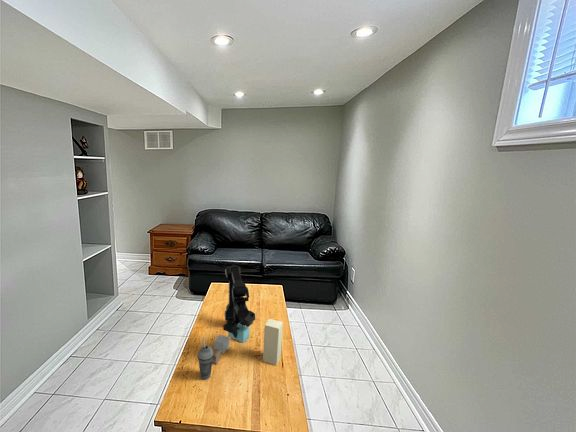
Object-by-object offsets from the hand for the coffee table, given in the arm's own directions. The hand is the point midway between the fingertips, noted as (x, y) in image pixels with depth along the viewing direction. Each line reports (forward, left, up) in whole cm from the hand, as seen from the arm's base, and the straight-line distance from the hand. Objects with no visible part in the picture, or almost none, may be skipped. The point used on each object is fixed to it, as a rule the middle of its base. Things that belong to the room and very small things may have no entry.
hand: (238, 334), depth 143 cm
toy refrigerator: (+18, +6, -11) cm, 22 cm away
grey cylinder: (-5, +10, -11) cm, 16 cm away
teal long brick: (0, 0, -1) cm, 1 cm away
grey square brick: (-10, -2, -11) cm, 15 cm away
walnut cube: (-7, -11, -11) cm, 17 cm away
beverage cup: (-3, -21, -11) cm, 24 cm away
